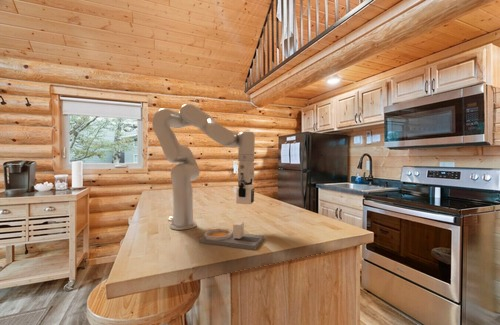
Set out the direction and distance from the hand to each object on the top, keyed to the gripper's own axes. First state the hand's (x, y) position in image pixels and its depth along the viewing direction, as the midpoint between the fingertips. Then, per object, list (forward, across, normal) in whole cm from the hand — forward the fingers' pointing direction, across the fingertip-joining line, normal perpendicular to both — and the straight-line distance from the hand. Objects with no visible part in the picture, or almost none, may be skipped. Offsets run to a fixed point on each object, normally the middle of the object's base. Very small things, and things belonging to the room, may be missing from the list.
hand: (245, 195), depth 111 cm
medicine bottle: (+4, 0, 0) cm, 4 cm away
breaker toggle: (+15, -15, -3) cm, 21 cm away
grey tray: (+17, -15, 0) cm, 22 cm away
